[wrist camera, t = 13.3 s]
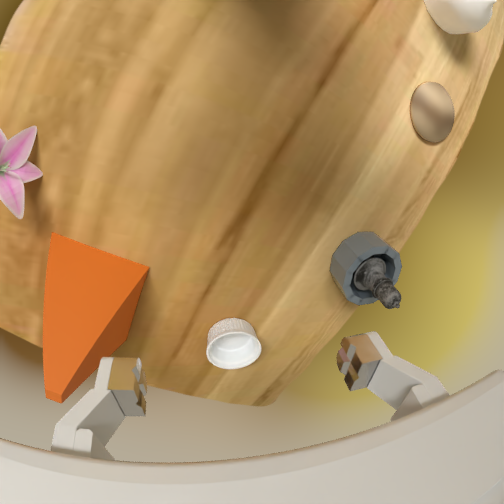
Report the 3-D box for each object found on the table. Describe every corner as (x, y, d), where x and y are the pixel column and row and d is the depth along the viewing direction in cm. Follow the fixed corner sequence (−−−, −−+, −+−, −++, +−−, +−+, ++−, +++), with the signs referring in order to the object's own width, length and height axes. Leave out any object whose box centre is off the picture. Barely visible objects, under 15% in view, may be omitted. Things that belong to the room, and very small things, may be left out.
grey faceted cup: (336, 232, 44) (351, 248, 39) (390, 231, 45) (408, 244, 41) (325, 289, 49) (337, 308, 44) (377, 283, 50) (390, 300, 46)
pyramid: (52, 231, 35) (-17, 322, 18) (149, 266, 41) (131, 379, 24) (44, 310, 41) (4, 403, 24) (126, 339, 47) (113, 442, 29)
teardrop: (472, 29, 29) (522, 30, 19) (441, 40, 31) (496, 40, 20) (446, -23, 24) (494, -32, 13) (411, -18, 25) (463, -32, 15)
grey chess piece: (378, 266, 48) (418, 308, 37) (350, 284, 48) (385, 331, 38) (369, 240, 45) (412, 281, 34) (339, 259, 45) (376, 306, 35)
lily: (36, 214, 34) (33, 225, 27) (-30, 207, 27) (-49, 216, 20) (53, 133, 33) (54, 122, 26) (-14, 123, 25) (-29, 111, 18)
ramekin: (204, 352, 51) (206, 370, 47) (204, 315, 47) (206, 333, 43) (253, 350, 53) (258, 367, 49) (258, 313, 48) (264, 331, 45)
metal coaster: (412, 74, 33) (414, 74, 33) (454, 90, 35) (456, 91, 34) (406, 136, 38) (409, 137, 37) (448, 145, 40) (450, 146, 39)
